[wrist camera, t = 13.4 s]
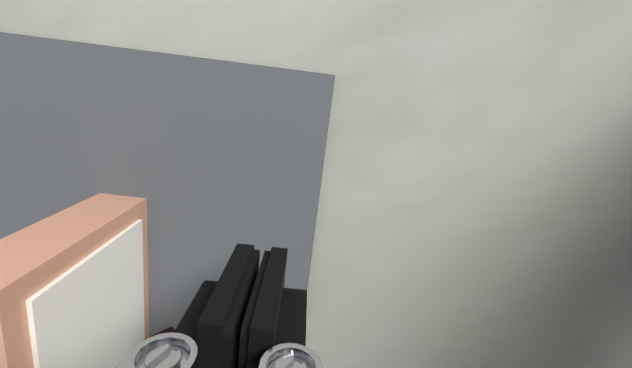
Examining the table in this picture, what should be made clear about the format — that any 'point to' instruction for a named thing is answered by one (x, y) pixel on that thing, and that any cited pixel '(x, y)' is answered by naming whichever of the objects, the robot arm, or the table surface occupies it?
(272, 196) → the mat
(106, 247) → the tile
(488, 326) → the table surface
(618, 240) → the table surface
